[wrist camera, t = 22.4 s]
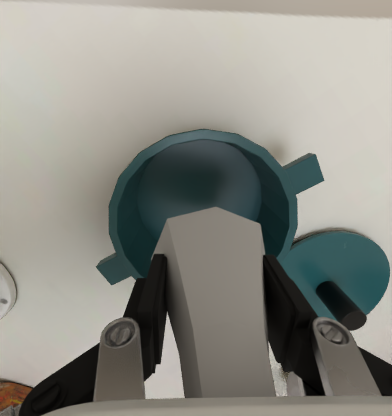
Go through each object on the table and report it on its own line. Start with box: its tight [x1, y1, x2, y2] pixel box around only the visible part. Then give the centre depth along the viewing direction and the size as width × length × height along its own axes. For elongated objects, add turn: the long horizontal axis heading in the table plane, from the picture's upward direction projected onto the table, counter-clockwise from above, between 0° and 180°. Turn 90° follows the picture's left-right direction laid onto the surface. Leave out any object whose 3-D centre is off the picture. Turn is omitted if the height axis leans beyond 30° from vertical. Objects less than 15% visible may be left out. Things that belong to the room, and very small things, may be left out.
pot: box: [96, 129, 324, 285], centre depth 21 cm, size 15×21×8 cm
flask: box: [151, 207, 276, 398], centre depth 9 cm, size 7×7×10 cm
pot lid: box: [281, 231, 390, 331], centre depth 26 cm, size 17×17×6 cm
